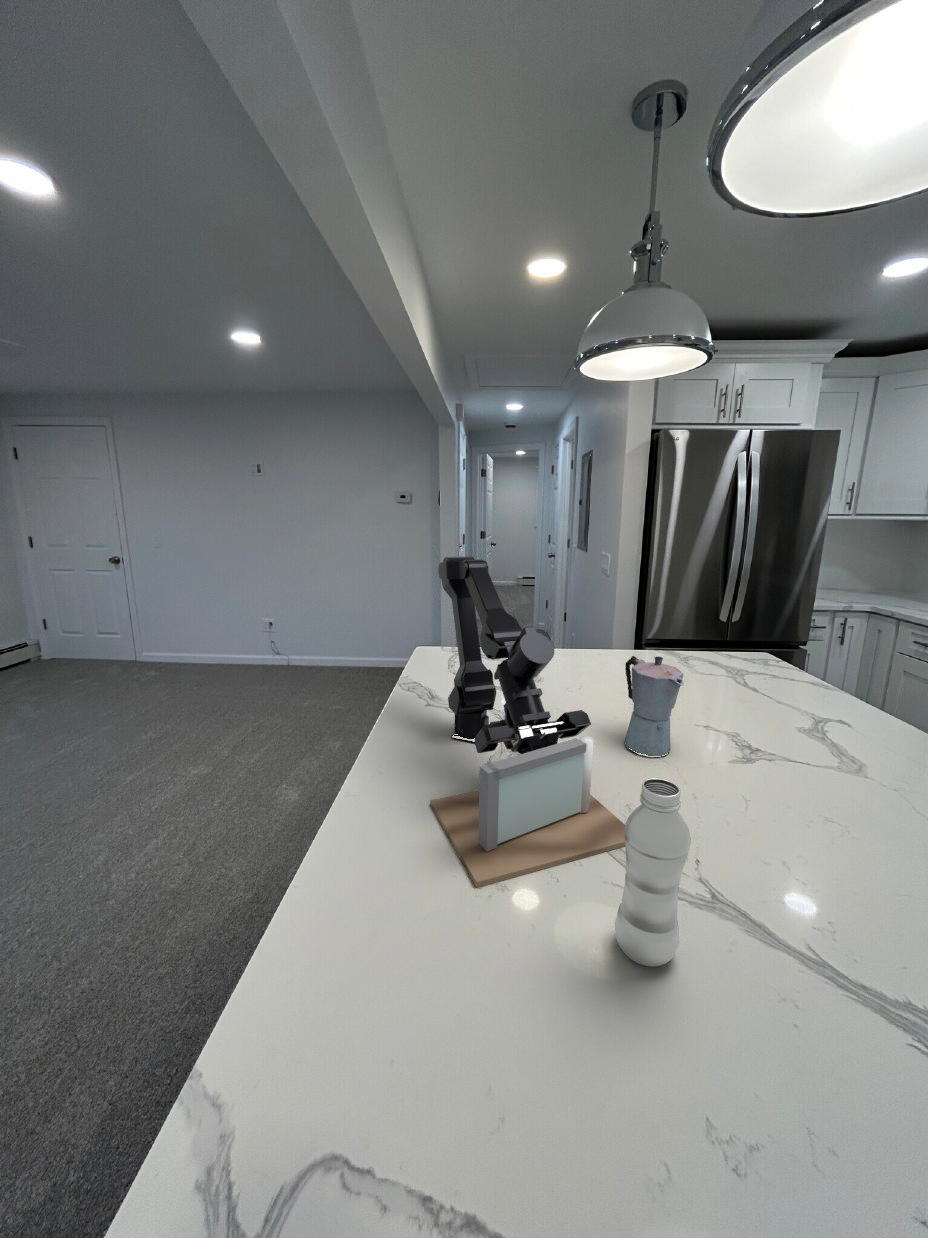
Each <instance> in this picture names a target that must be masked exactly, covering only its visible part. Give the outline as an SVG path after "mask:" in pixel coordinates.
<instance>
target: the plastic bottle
mask: <svg viewBox="0 0 928 1238" xmlns="http://www.w3.org/2000/svg"><path fill="white" fill-rule="evenodd" d="M639 801H640V805H639V806H637V807H636V808H635V809H634V810H633V811H631V813H630V814H629V815H628V817H627V819H626V821H625V823H624V824H625V833H624V835H625V877H624V878H625V879H624V885H623V890H622V891H623V892H622V896H621V901H620V903H619V905H618V909H617V912H616V916H615V920H614V931H615V939H616V941H617V942H616V943H617V945H618V946H619V948H620V949H621V950H622V952H623V953H624V954H625V955H626V956H627V957H628V958H629V959H630V960H631V961H633V962H635V963H637V964H639V965H642V966H644V967H650V968H653V967H654V968H656V967H661V966H664V965H665V964H667V963H668V962H670V961H672V959H673V958H674V957H675V954H676V952H677V949H678V946H679V943H680V927H679V926H680V925H679V920H678V903H679V902H678V900H679V899H678V898H679V893H680V892H679V891H680V885H681V881H682V875H683V871H684V867H685V865H686V862H687V861H686V860H687V859H688V855H689V852H690V848H691V844H692V836H691V832H690V828H689V826H688V824H687V823H686V821H685V819H684V818H683V816H682V815H681V814H680V812H679V810H680V809H681V789H680V786H678V785H677V784H676V783H674V782H672V781H670V780H667V779H663V778H658V777H655V778H654V777H653V778H648V779H645V780H643V782H642V785H641V793H640V796H639Z"/></svg>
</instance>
